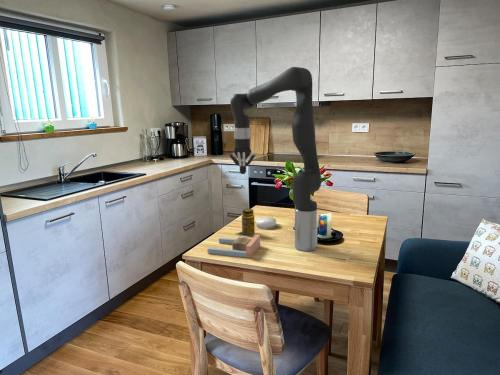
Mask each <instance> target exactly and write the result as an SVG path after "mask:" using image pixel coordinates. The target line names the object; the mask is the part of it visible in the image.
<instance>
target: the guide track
mask: <svg viewBox="0 0 500 375" xmlns="http://www.w3.org/2000/svg"><path fill="white" fill-rule="evenodd" d="M236 239H237V238H226V237H219V238H218V244H227V245H232V243H233V242H234V241H235V240H236ZM250 239H251V241H250V242H249V243H248V244H247V245H246V251H238V250H233V249H229V248H228V249H227V248H217V247H208V248H207V254H211V255H219V256H229V257H240V258H249V259H251V258H252V257H253V256H254V255H255V254H256V251H258V249H259V248H260V247H261V235H260V234H257V235H253V236H252V238H250Z"/></svg>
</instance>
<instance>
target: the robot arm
mask: <svg viewBox="0 0 500 375" xmlns="http://www.w3.org/2000/svg"><path fill="white" fill-rule="evenodd" d="M287 91H292V92H293V91H294V92H295V96H296V98H295V99H296V106H295V110H294V111H295V112H294V115H293V117H292V120H291V121H292V122H291V131H292V132H291V133H292V141H293V143H294V146H295V147H296V149H297V151H298V152H299V154H300V156H301V158H302V162H303V171H300V172H297V173H295V175H294V176H293V178H292V201H293V204H294V248H295V249H296V250H297V251H302V252H309V251H316V249H317V247H318V223H317V222H318V221H317V219H318V203H317V202H316V201H314V200H313V199H311V194H312V193H315V192H317V191H319V190H320V188H321V186H322V176H321V171H320V170H321V169H320V166H319V159H318V150H317V142H316V129H315V119H314V108H313V107H314V105H313V76H312V73H311V72H310V70H309V69H307V68H305V67H299V66H292V67H289V68H287V69H286V70H285V71H283V72H282V73H280V74H279V75H277V76H276V77H274V78H272V79H270V80H268V81H266V82H264V83H262V84H260V85H257V86H255V87H252V88H250V89H249V90H248V91H247V92H246V93H235V94H233V95H232V96H231V97H230V101H229V102H230V109H231V112H232V116H233V119H234V120H233V121H234V125H233V126H234V128H233V129H234V132H233V138H234V140H233V141H234V148H233V152H232V153H230V154H229V158H230V159H231V161H233V163H234V164H235V165H236V166H239V173H240V175H245V174H246V173H247V166H249V165H250V164H251V163H252V162H253V161H254V159H255V158H256V155H257V154H255V153H253V152H252V149H251V130H250V116H249V115H247V114H245V111H244V110H248V109H251V108H252V107H254V106H256V105H257V104H261V103H263V102H265V101H268V100H270V99H271V98H272V97H273V96H275V95H276V94H279V93H281V92H287ZM248 158H249V159H248Z"/></svg>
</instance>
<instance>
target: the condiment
mask: <svg viewBox="0 0 500 375" xmlns="http://www.w3.org/2000/svg"><path fill="white" fill-rule="evenodd" d="M241 214H242V215H241V231H239V232H235V234H236V235H238V237H240V238H248V237H254V236H255V235H258V233H257V232H256V230H255V225H256V224H255V215H254V214H255V213H254V209H252V208H244V209H242V213H241Z"/></svg>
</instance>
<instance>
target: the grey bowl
mask: <svg viewBox="0 0 500 375" xmlns="http://www.w3.org/2000/svg"><path fill="white" fill-rule="evenodd" d="M255 222H256V226H257V228H259V229H262V230H263V229H264V230H270V229H275V227H276V226H277V219H276V218H274V217H271V216H270V217H269V216H263V217H259V218H257V219H256V221H255Z"/></svg>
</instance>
